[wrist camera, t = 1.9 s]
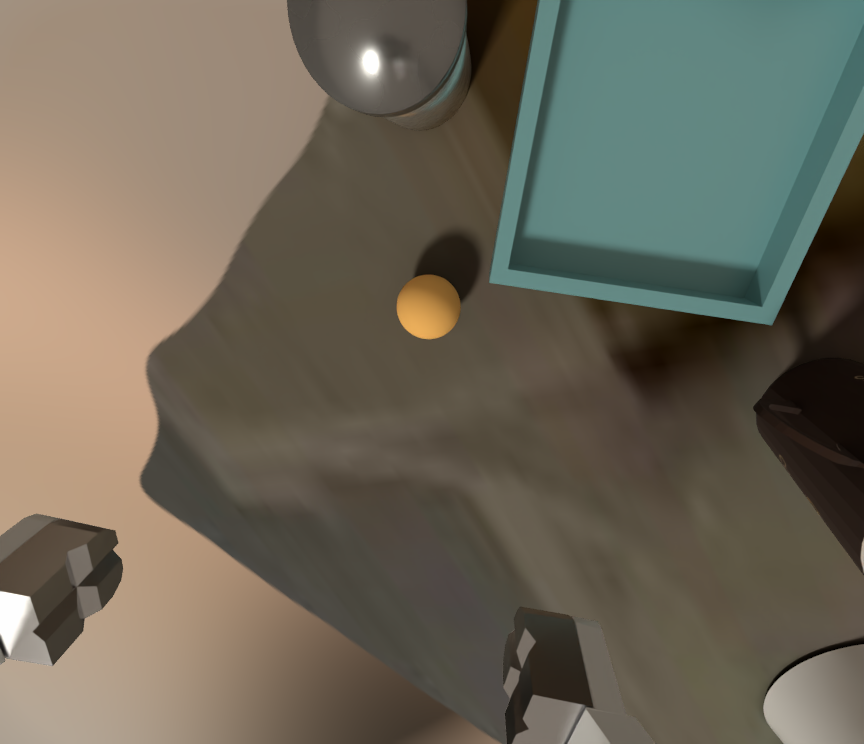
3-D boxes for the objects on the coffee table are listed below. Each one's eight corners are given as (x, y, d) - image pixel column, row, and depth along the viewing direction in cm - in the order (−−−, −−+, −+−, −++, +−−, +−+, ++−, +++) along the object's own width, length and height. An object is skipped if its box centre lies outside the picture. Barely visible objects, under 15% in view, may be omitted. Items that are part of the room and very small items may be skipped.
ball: (466, 273, 25) (463, 288, 22) (457, 331, 26) (453, 353, 23) (406, 264, 25) (393, 277, 22) (400, 322, 27) (388, 342, 23)
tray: (890, -18, 18) (947, -45, 16) (745, 310, 24) (772, 325, 22) (547, -54, 19) (554, -84, 17) (489, 272, 25) (489, 282, 22)
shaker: (484, 7, 20) (480, -106, 12) (466, 141, 22) (451, 123, 14) (368, -6, 20) (285, -125, 12) (361, 127, 22) (288, 102, 14)
